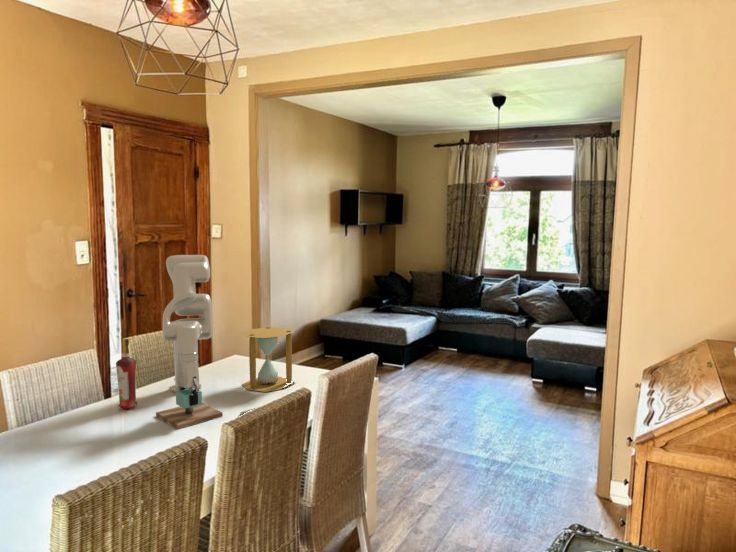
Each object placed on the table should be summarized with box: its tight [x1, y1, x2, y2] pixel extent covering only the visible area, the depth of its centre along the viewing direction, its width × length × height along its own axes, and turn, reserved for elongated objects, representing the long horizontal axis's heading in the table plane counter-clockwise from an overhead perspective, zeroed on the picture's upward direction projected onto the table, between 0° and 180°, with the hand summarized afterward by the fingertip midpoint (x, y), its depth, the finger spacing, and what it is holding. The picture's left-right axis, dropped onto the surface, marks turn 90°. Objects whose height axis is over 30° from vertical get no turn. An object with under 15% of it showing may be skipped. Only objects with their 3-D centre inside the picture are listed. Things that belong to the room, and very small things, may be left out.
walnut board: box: [155, 402, 224, 430], centre depth 203 cm, size 18×18×2 cm
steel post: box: [185, 407, 193, 414], centre depth 203 cm, size 3×3×6 cm
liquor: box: [115, 338, 138, 411], centre depth 211 cm, size 7×7×28 cm
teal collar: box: [175, 388, 203, 408], centre depth 202 cm, size 7×7×5 cm
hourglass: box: [241, 326, 295, 393], centre depth 242 cm, size 24×22×25 cm
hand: (189, 402), depth 202 cm, fingers closed on teal collar, 7 cm apart
